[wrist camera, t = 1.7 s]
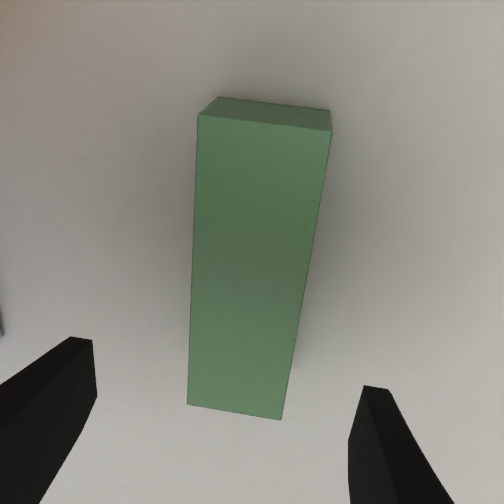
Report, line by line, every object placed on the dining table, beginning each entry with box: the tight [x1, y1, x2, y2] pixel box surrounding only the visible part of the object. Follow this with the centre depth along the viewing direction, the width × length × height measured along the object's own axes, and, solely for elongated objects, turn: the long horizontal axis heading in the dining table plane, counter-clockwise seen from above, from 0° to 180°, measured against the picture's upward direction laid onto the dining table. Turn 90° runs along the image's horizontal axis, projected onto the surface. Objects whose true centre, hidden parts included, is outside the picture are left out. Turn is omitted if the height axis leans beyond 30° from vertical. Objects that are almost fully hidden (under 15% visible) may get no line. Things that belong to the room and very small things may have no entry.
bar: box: [187, 97, 332, 420], centre depth 18 cm, size 12×4×3 cm, turn 175°
